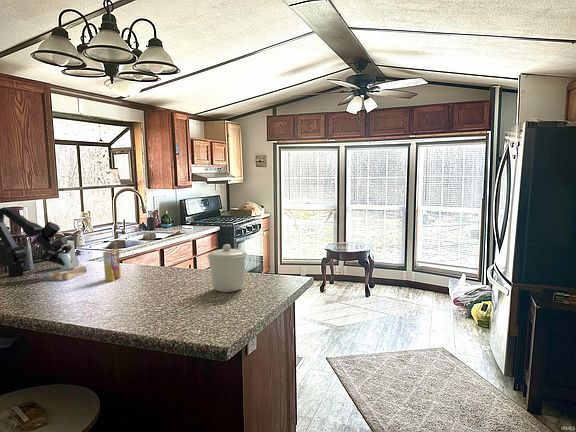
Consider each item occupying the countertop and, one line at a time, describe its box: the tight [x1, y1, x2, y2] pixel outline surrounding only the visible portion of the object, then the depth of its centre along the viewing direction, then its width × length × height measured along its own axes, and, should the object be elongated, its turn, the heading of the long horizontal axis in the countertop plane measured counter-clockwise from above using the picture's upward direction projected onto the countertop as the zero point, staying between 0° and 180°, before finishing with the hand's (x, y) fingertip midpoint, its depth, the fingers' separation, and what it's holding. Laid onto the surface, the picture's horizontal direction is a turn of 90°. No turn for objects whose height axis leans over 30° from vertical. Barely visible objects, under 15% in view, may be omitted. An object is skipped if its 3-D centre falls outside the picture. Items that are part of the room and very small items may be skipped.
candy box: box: [102, 248, 122, 283], centre depth 205 cm, size 9×4×15 cm, turn 177°
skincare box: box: [58, 239, 77, 268], centre depth 236 cm, size 8×7×16 cm
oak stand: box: [49, 265, 88, 281], centre depth 214 cm, size 10×16×4 cm, turn 174°
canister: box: [206, 243, 248, 293], centre depth 184 cm, size 18×18×21 cm
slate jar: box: [59, 253, 71, 271], centre depth 214 cm, size 5×5×12 cm
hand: (67, 264), depth 214 cm, fingers closed on slate jar, 5 cm apart
